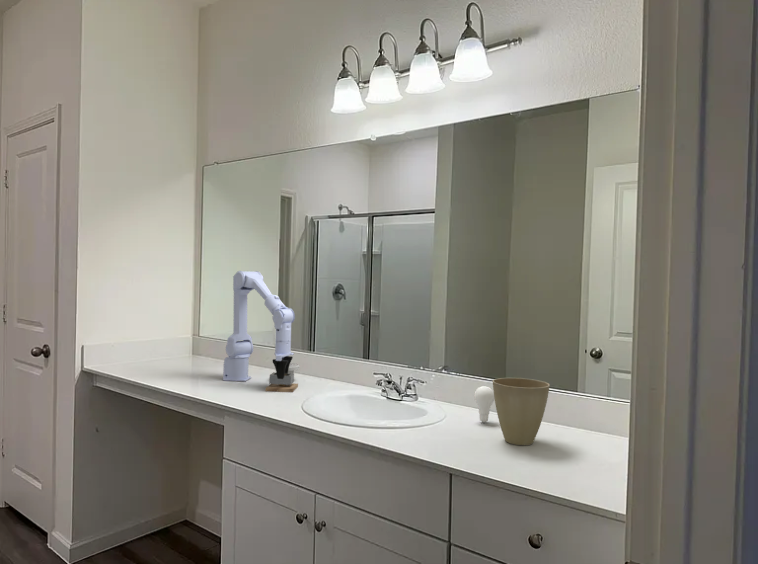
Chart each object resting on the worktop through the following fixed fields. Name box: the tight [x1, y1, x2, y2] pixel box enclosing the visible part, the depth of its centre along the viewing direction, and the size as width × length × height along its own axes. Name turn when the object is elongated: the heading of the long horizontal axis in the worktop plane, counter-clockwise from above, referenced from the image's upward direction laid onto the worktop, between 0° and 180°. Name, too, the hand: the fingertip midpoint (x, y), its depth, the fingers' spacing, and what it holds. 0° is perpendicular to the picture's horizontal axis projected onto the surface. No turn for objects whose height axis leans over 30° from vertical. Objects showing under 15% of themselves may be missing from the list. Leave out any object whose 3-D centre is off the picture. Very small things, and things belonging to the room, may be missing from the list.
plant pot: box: [492, 377, 550, 446], centre depth 150 cm, size 15×15×16 cm
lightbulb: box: [473, 385, 495, 424], centre depth 169 cm, size 6×6×11 cm
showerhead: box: [288, 362, 300, 374], centre depth 224 cm, size 9×7×10 cm
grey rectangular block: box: [268, 371, 295, 385], centre depth 209 cm, size 8×6×3 cm
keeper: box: [265, 382, 299, 393], centre depth 209 cm, size 10×10×5 cm
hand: (282, 377), depth 209 cm, fingers closed on grey rectangular block, 5 cm apart
